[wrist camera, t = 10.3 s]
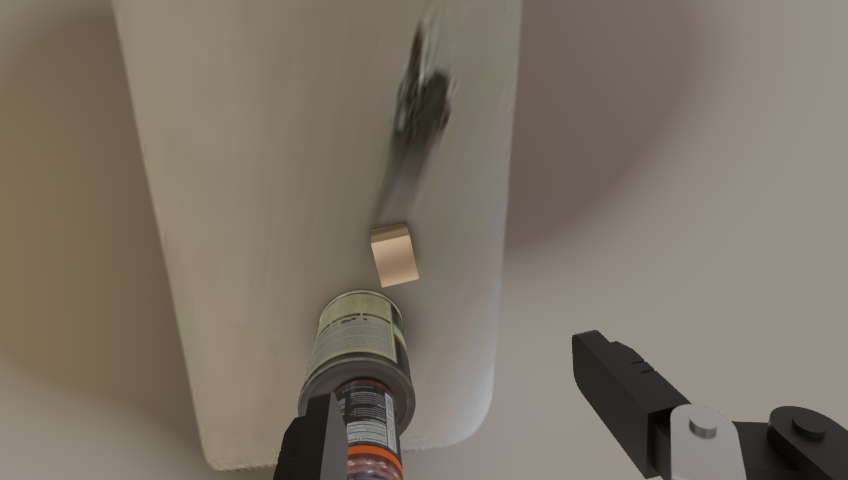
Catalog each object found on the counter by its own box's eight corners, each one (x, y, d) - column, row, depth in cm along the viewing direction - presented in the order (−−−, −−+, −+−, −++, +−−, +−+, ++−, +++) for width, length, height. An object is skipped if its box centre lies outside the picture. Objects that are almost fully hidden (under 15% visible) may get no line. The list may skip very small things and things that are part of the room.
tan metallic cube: (370, 229, 44) (370, 243, 39) (405, 222, 44) (409, 235, 40) (380, 269, 46) (381, 287, 41) (414, 262, 46) (418, 278, 41)
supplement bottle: (379, 438, 36) (383, 576, 25) (317, 421, 34) (293, 560, 24) (407, 387, 34) (423, 510, 24) (343, 367, 33) (330, 488, 22)
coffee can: (420, 323, 49) (439, 402, 35) (363, 376, 50) (360, 472, 37) (359, 271, 45) (355, 336, 32) (300, 329, 47) (271, 415, 33)
